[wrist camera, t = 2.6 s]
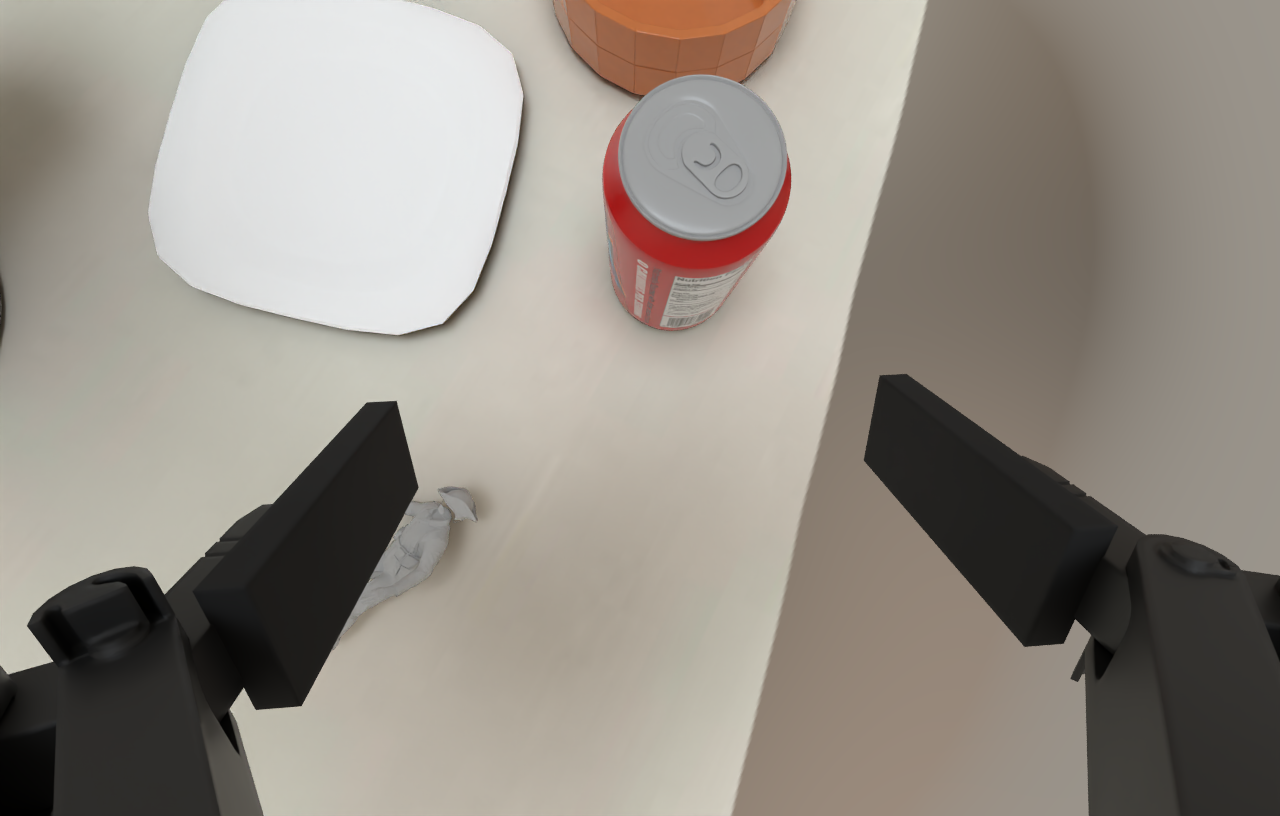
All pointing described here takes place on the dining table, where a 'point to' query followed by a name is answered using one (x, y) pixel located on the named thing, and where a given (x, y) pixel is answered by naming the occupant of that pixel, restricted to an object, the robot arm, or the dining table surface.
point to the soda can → (691, 197)
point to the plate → (337, 160)
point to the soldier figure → (414, 549)
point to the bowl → (672, 37)
